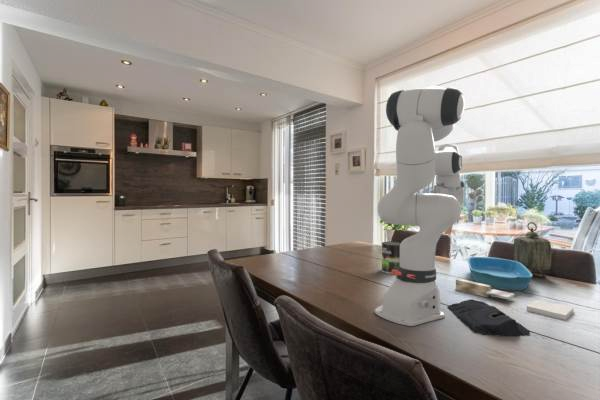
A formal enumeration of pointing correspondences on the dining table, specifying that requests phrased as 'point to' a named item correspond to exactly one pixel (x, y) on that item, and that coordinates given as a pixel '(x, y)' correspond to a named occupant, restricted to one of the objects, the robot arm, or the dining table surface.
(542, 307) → the tile
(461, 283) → the turner
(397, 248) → the coffee can
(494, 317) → the black folded cloth
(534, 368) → the dining table surface
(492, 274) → the casserole dish
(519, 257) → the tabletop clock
